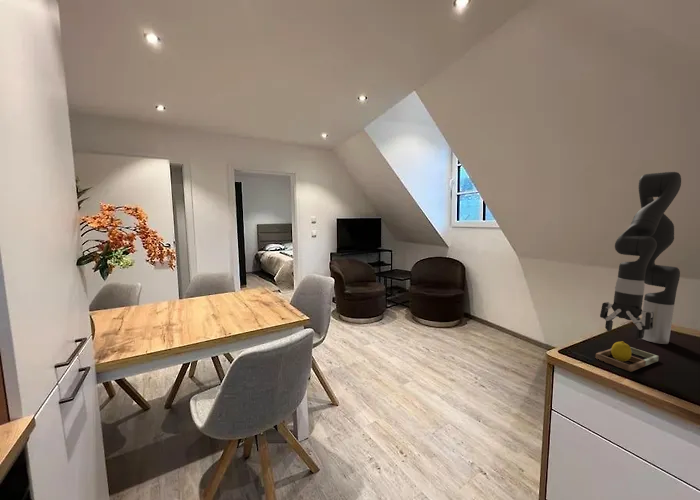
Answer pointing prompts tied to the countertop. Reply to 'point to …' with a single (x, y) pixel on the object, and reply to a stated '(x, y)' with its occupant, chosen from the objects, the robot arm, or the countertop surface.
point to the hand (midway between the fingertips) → (623, 334)
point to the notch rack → (637, 361)
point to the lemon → (621, 351)
